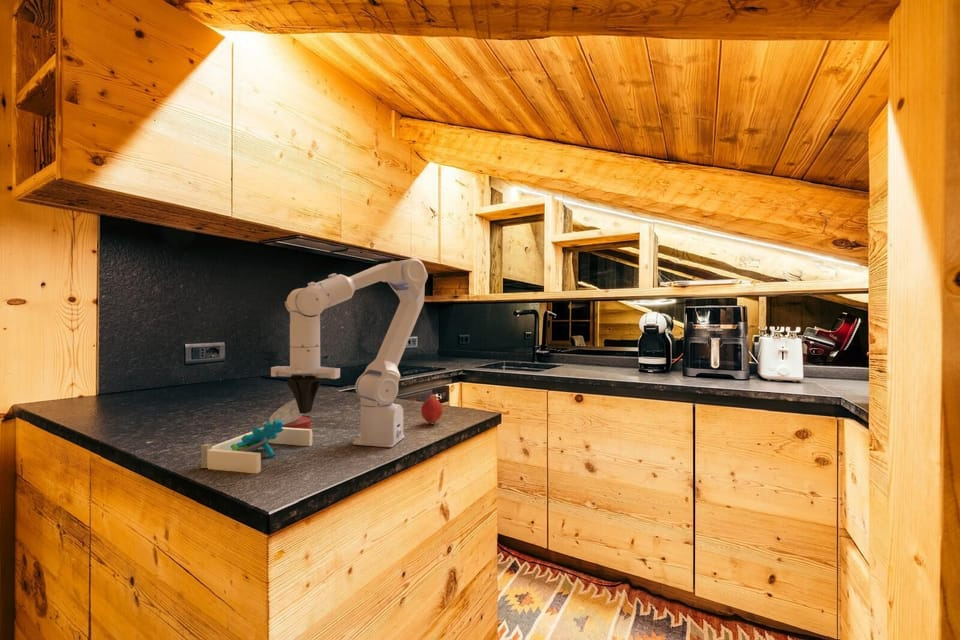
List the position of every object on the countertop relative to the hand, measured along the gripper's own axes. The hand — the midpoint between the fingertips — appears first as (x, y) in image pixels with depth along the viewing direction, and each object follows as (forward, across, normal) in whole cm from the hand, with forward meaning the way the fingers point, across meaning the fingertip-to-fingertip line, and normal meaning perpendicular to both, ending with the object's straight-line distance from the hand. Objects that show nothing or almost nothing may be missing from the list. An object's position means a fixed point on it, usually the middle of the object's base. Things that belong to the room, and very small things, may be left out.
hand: (305, 412), depth 83 cm
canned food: (+10, -16, +16) cm, 25 cm away
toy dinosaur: (+10, -10, -1) cm, 14 cm away
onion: (+10, +18, +30) cm, 36 cm away
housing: (+9, -10, -1) cm, 14 cm away
